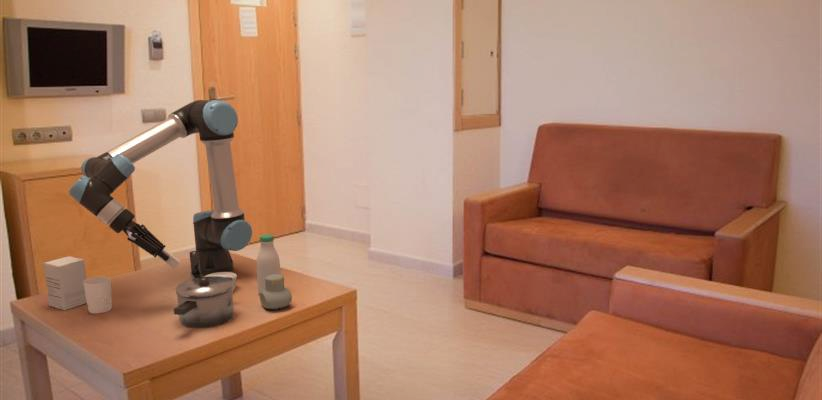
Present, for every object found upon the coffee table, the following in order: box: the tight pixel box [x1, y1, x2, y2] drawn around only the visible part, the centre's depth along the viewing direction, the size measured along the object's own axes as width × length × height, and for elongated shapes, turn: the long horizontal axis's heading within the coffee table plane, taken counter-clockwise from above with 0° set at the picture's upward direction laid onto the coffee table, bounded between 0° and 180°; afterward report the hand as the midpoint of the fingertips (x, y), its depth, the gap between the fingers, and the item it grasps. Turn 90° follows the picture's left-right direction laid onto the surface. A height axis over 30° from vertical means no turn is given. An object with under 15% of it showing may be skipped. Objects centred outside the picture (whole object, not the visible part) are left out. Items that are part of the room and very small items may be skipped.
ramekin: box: [204, 271, 238, 292], centre depth 226 cm, size 11×11×5 cm
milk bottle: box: [256, 234, 282, 295], centre depth 221 cm, size 8×8×20 cm
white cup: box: [83, 276, 113, 314], centre depth 209 cm, size 8×8×10 cm
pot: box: [173, 277, 235, 329], centre depth 200 cm, size 30×16×9 cm, turn 168°
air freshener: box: [259, 273, 293, 310], centre depth 209 cm, size 11×8×10 cm
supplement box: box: [42, 255, 88, 311], centre depth 214 cm, size 9×9×15 cm
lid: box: [175, 250, 233, 298], centre depth 201 cm, size 24×17×8 cm
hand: (177, 265), depth 209 cm, fingers closed
